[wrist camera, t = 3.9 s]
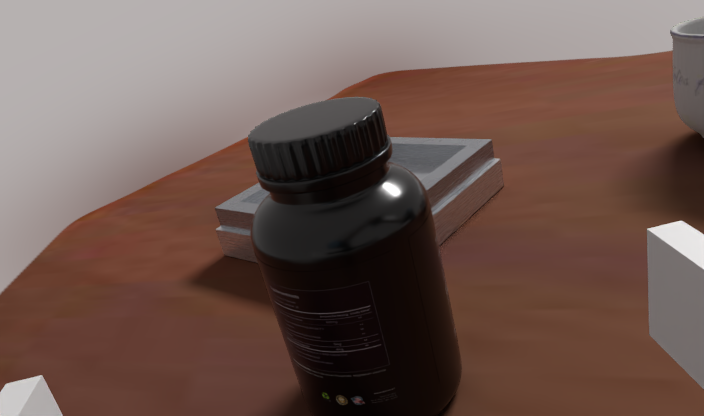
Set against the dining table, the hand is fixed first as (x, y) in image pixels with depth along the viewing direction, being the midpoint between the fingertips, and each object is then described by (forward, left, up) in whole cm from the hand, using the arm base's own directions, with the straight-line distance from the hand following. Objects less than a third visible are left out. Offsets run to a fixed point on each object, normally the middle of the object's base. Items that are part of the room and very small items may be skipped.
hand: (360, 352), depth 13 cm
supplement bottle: (-7, -7, -9) cm, 14 cm away
